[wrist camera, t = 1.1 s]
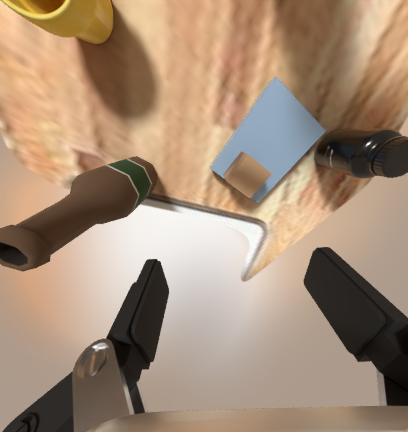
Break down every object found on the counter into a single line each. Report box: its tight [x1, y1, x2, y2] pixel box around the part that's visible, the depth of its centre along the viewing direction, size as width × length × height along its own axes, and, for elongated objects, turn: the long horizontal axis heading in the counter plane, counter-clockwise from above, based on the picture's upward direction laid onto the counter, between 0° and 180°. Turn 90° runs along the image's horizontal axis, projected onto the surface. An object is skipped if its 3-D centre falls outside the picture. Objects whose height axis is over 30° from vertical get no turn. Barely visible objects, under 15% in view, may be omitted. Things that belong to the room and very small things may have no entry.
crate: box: [223, 151, 272, 198], centre depth 26 cm, size 5×5×5 cm
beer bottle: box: [0, 156, 157, 271], centre depth 21 cm, size 8×8×24 cm
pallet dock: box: [210, 76, 326, 203], centre depth 28 cm, size 16×12×3 cm
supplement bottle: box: [315, 128, 408, 178], centre depth 24 cm, size 7×7×12 cm
